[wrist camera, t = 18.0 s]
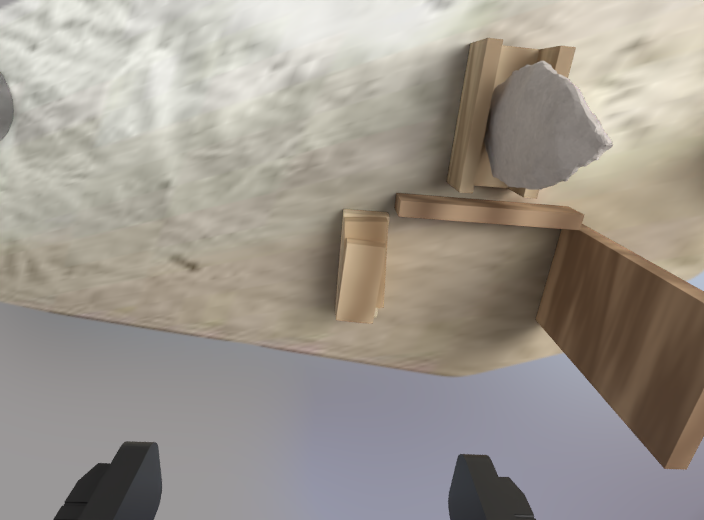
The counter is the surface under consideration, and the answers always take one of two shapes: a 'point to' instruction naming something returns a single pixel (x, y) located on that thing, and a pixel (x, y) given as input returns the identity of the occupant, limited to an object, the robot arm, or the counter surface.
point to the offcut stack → (361, 265)
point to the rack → (610, 321)
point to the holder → (479, 83)
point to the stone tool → (541, 129)
